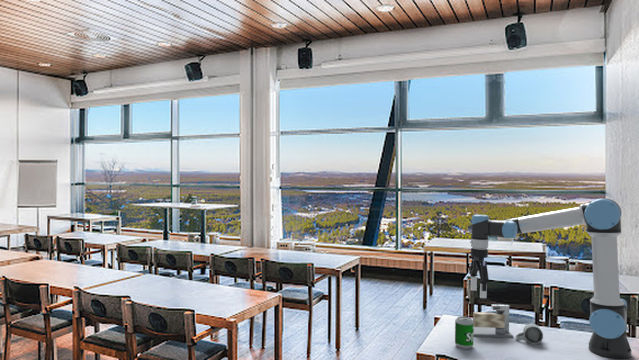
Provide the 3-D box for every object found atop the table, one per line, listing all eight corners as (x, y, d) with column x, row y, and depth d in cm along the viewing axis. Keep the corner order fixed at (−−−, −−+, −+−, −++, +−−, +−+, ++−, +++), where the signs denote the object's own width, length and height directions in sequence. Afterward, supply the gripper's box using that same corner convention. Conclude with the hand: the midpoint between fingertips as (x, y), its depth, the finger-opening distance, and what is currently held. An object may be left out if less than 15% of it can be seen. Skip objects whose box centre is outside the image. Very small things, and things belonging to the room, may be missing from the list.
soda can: (461, 350, 186) (461, 321, 186) (451, 344, 193) (451, 316, 193) (477, 349, 188) (477, 320, 188) (466, 342, 195) (467, 315, 195)
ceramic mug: (540, 339, 201) (540, 322, 201) (543, 345, 194) (543, 327, 194) (515, 336, 205) (514, 319, 205) (516, 342, 197) (516, 325, 197)
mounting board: (513, 337, 203) (513, 329, 203) (472, 336, 203) (472, 328, 203) (500, 326, 218) (500, 319, 218) (462, 325, 218) (462, 318, 218)
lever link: (502, 325, 207) (502, 308, 207) (505, 328, 204) (505, 311, 204) (472, 324, 208) (472, 308, 208) (475, 327, 204) (475, 310, 204)
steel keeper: (508, 333, 208) (509, 306, 208) (492, 333, 208) (492, 305, 208) (507, 332, 210) (507, 304, 210) (491, 332, 210) (491, 304, 210)
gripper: (463, 244, 219) (462, 287, 219) (480, 252, 194) (478, 301, 194) (478, 244, 218) (477, 287, 218) (497, 252, 193) (496, 301, 193)
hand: (478, 294), depth 206 cm, fingers open, 13 cm apart
